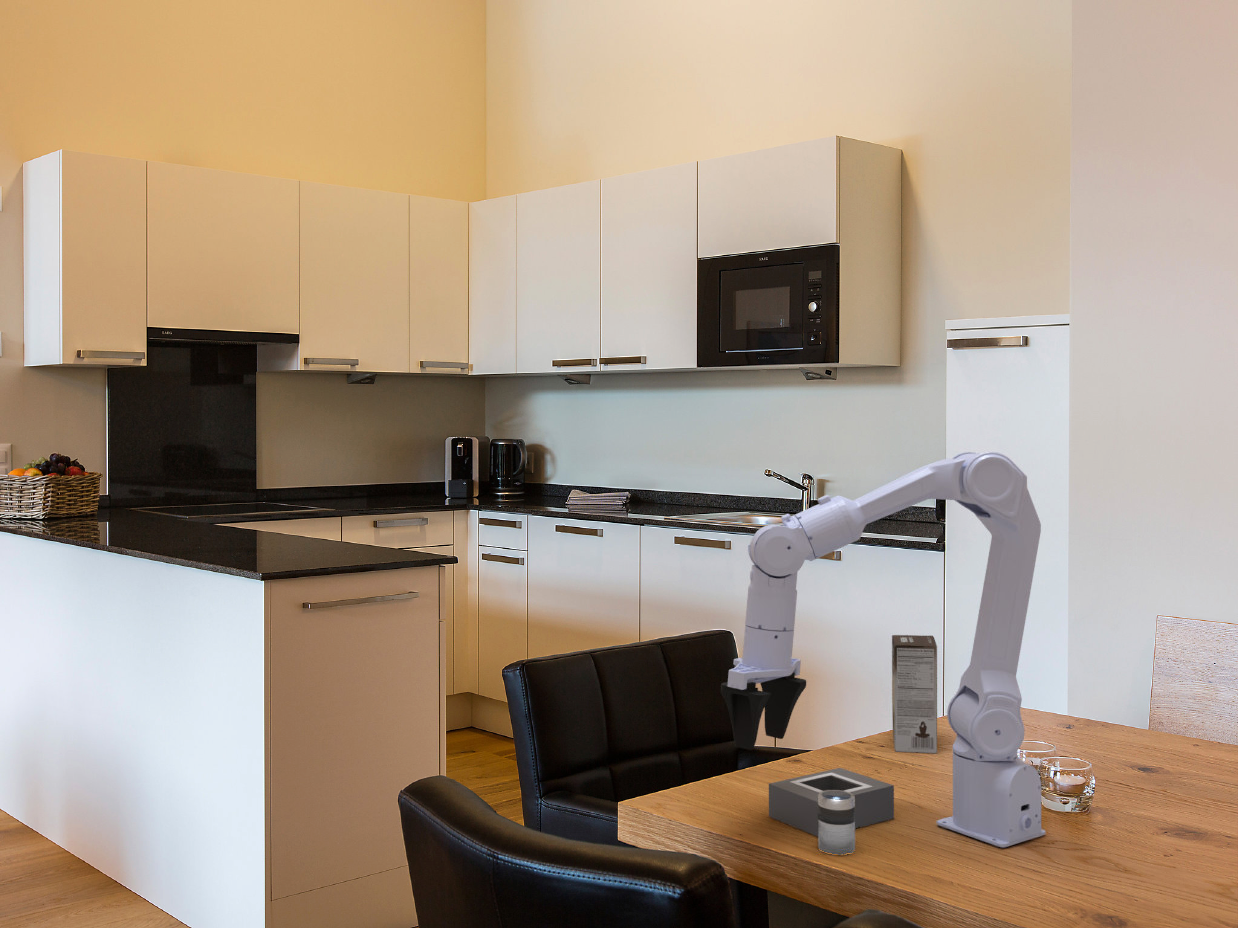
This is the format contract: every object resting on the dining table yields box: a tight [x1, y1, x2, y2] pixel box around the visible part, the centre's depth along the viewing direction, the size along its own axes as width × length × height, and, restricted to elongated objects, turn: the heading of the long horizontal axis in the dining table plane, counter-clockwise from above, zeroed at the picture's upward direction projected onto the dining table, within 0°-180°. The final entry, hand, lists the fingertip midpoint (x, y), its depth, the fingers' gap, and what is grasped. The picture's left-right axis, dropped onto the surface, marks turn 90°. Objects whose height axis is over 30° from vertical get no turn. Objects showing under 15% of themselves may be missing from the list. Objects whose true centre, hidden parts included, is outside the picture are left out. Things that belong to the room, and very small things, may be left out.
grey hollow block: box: [768, 767, 895, 837], centre depth 131 cm, size 9×12×4 cm
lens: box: [817, 790, 856, 855], centre depth 120 cm, size 4×4×6 cm
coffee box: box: [891, 634, 938, 754], centre depth 164 cm, size 9×6×16 cm
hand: (759, 742), depth 127 cm, fingers open, 7 cm apart
